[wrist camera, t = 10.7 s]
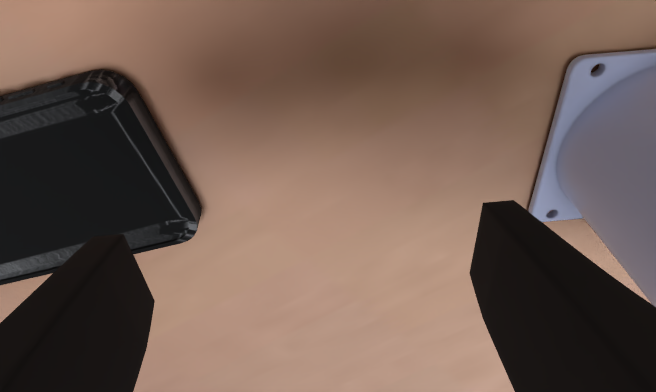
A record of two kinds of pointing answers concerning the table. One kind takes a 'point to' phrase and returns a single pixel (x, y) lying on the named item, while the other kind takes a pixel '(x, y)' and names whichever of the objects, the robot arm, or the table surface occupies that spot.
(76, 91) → the phone
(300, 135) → the table surface
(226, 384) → the table surface
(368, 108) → the table surface
